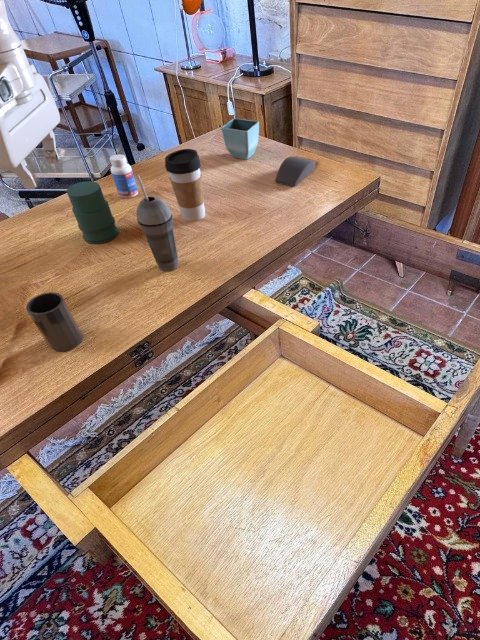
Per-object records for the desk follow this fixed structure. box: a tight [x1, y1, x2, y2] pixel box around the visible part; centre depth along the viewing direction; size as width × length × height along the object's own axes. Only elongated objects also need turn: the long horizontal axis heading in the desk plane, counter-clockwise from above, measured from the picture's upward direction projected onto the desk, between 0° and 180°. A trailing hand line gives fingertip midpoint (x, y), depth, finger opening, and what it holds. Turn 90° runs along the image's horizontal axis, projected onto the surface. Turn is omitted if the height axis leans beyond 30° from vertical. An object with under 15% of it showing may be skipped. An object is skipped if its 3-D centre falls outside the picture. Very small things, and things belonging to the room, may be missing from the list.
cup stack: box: [66, 180, 120, 245], centre depth 106 cm, size 9×9×12 cm
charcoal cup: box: [25, 292, 84, 353], centre depth 82 cm, size 6×6×9 cm
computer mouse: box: [274, 156, 316, 188], centre depth 128 cm, size 8×14×4 cm, turn 151°
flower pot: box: [220, 117, 260, 161], centre depth 135 cm, size 9×9×9 cm
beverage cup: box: [136, 174, 179, 272], centre depth 93 cm, size 7×7×20 cm
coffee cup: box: [164, 148, 206, 222], centre depth 109 cm, size 8×8×15 cm
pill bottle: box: [109, 154, 139, 199], centre depth 120 cm, size 6×5×10 cm
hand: (43, 173), depth 73 cm, fingers open, 8 cm apart
